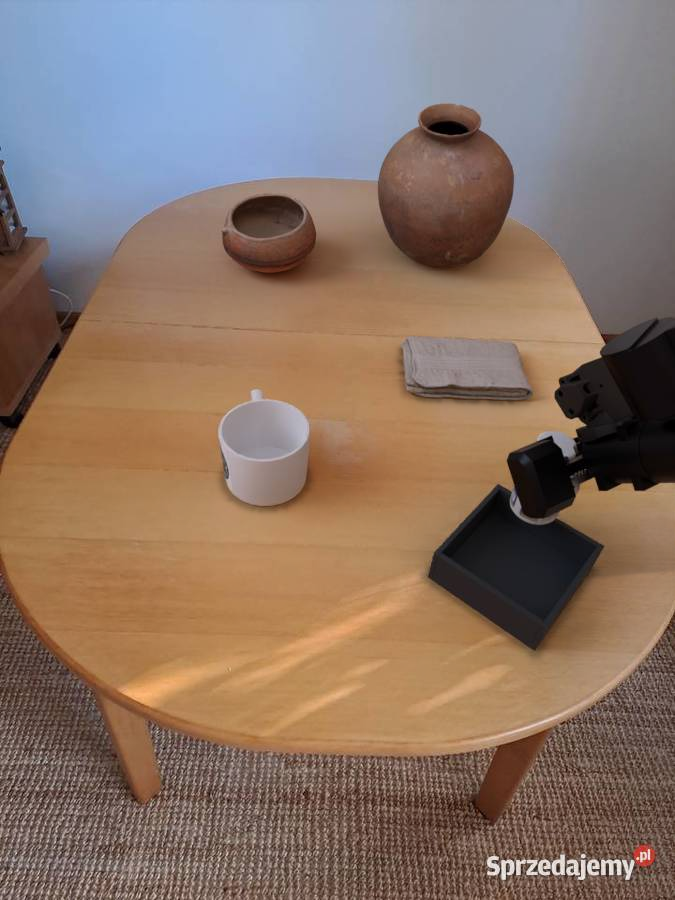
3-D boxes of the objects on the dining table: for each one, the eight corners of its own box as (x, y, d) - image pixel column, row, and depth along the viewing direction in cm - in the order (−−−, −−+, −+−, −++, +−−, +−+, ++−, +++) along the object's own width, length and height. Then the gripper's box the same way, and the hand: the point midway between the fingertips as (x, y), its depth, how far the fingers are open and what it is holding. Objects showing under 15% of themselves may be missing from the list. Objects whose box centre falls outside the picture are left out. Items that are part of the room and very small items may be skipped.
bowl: (208, 272, 115) (203, 216, 108) (251, 233, 125) (249, 180, 118) (291, 295, 111) (291, 239, 104) (328, 253, 121) (331, 199, 114)
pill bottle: (568, 515, 73) (596, 451, 66) (531, 533, 71) (556, 470, 64) (534, 482, 76) (558, 419, 69) (498, 499, 74) (519, 436, 67)
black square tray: (591, 570, 75) (604, 545, 72) (534, 651, 67) (547, 628, 64) (489, 508, 81) (498, 483, 77) (427, 577, 73) (433, 552, 70)
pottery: (475, 223, 132) (504, 85, 114) (512, 287, 116) (552, 138, 98) (361, 225, 129) (373, 84, 112) (383, 290, 113) (401, 138, 96)
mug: (316, 503, 80) (318, 455, 74) (227, 515, 78) (222, 467, 72) (297, 426, 89) (297, 379, 83) (217, 435, 87) (211, 387, 81)
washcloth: (398, 347, 102) (400, 331, 100) (514, 351, 103) (519, 335, 101) (404, 399, 94) (407, 382, 92) (531, 403, 95) (536, 386, 92)
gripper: (711, 326, 58) (583, 359, 73) (550, 387, 51) (443, 410, 66) (747, 447, 59) (613, 456, 73) (592, 524, 52) (478, 517, 66)
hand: (540, 457), depth 70 cm, fingers closed on pill bottle, 5 cm apart
